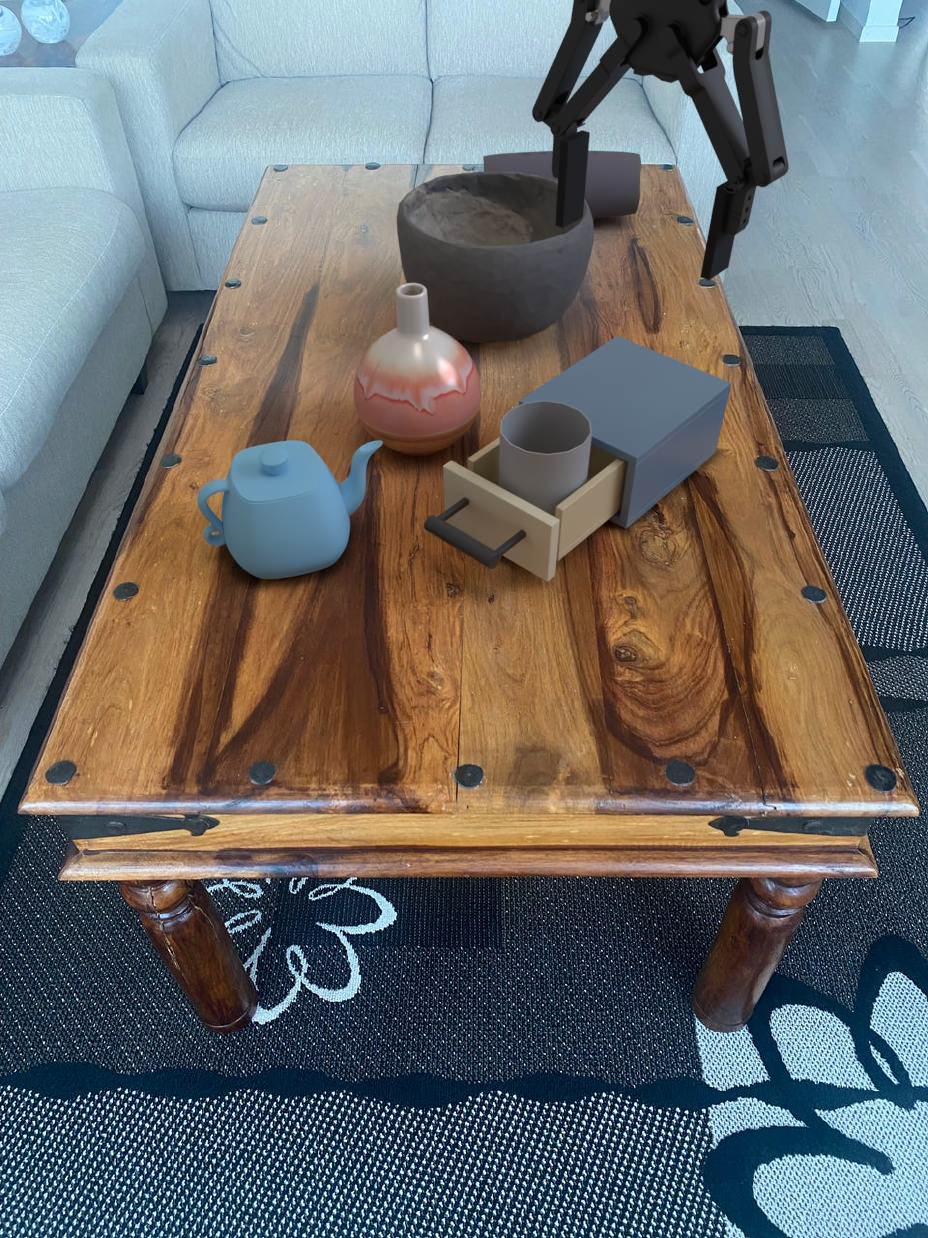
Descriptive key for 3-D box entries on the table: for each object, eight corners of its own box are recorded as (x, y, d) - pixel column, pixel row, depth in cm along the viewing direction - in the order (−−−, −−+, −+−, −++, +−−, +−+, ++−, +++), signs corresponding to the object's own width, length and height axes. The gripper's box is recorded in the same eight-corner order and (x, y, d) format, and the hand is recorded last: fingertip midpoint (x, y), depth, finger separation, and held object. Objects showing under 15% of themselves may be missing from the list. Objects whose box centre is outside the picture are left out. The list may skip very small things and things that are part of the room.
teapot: (397, 475, 81) (190, 514, 78) (404, 564, 89) (216, 602, 86) (367, 398, 89) (179, 430, 86) (376, 485, 97) (204, 517, 94)
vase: (342, 421, 105) (322, 273, 92) (451, 392, 109) (447, 247, 96) (384, 489, 97) (369, 337, 84) (501, 456, 100) (504, 305, 88)
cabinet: (625, 529, 92) (636, 458, 86) (516, 471, 99) (518, 400, 92) (715, 452, 100) (731, 382, 94) (609, 403, 107) (617, 335, 101)
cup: (585, 540, 88) (594, 455, 80) (498, 539, 88) (500, 454, 81) (579, 484, 94) (587, 400, 86) (498, 484, 94) (500, 400, 86)
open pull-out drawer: (509, 614, 83) (511, 557, 78) (406, 548, 89) (402, 492, 84) (643, 501, 93) (652, 445, 88) (542, 450, 99) (546, 395, 94)
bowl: (449, 263, 132) (446, 152, 121) (611, 296, 124) (624, 182, 113) (365, 345, 117) (353, 227, 106) (544, 388, 109) (551, 267, 98)
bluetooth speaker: (484, 236, 137) (484, 166, 130) (482, 209, 144) (482, 141, 137) (636, 233, 137) (644, 163, 130) (628, 207, 144) (635, 138, 136)
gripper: (487, -109, 60) (486, 217, 76) (844, -56, 49) (756, 316, 64) (558, -125, 64) (543, 188, 79) (905, -80, 52) (808, 277, 68)
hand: (638, 246), depth 72 cm, fingers open, 13 cm apart
